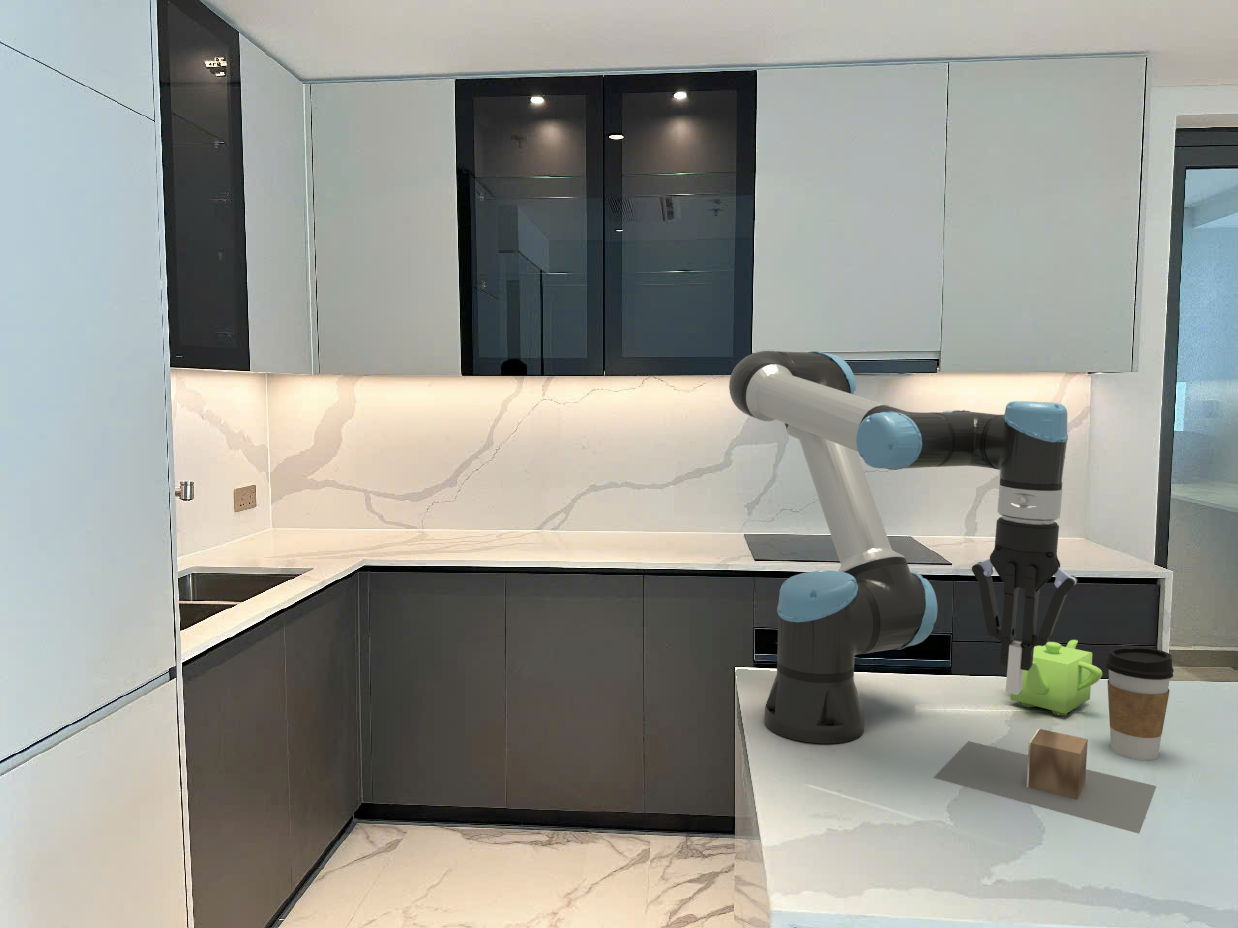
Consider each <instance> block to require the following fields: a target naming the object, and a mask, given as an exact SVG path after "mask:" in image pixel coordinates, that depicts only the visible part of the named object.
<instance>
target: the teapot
mask: <svg viewBox="0 0 1238 928" xmlns="http://www.w3.org/2000/svg"><path fill="white" fill-rule="evenodd" d="M1078 642H1079V641H1078V639H1071V640H1069V641H1068V642H1067V645H1066V646H1063V645H1062V644H1060V643H1058V642H1055V641H1048V642H1047V644H1046V645H1044V646H1035V647H1034V653H1033V665H1032V667H1031V668H1030V669H1029V671H1026V670H1024V672H1023V684H1022V690H1021V691H1020V692H1019V694H1018V695H1015V694H1011V693H1010V696H1009V697H1010V700H1011V701H1015V702H1019V703H1021V706H1023V707H1027V708H1034V707H1038V708H1042V709H1046V710H1049V711H1052V714H1054V715H1056V714H1059V715H1058V716H1060V715H1065V716H1067V715H1068V713H1070V712H1071V711H1073V710H1074V709H1079V708H1080V706H1081V705H1083V704H1084V703H1086V702H1088V701H1089V700H1091V686H1092V685H1094V684H1096V683H1097V682H1099V681H1100V680H1101V678H1102V677H1103V671H1102V670H1101V668H1099V667H1097V666H1096V665H1093V652H1091V651H1085V650H1081V649H1077V645H1078ZM1078 707H1079V708H1078ZM1066 714H1067V715H1066Z"/></svg>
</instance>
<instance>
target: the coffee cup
mask: <svg viewBox="0 0 1238 928" xmlns="http://www.w3.org/2000/svg"><path fill="white" fill-rule="evenodd" d="M1173 667H1174V666H1173V658H1172V654H1171V653H1169V652H1166V651H1163V650H1160V649H1156V648H1152V647H1151V648H1150V647H1117V648H1116V647H1115V648H1112V649H1109V651H1108V653H1107V659H1106V660H1105V668H1106V669H1107V670H1108V679H1107V680H1106V681H1107V682H1106V683H1107V699H1108V716H1109V717H1108V718H1109V719H1108V720H1109V734H1110V739H1109V740H1110V750H1111V751H1113V753H1115V754H1116V755H1119V756H1122V757H1125V758H1126V759H1127V758H1128V759H1132V760H1137V761H1154V760H1156V759H1158V758H1159V755H1160V754H1159V753H1160V752H1159V751H1160V747H1161V746H1160V745H1161V739H1162V734H1163V731H1164V724H1165V718H1166V713H1167V707H1168V702H1169V697H1170V689H1169V687H1170V679H1173V677H1174V672H1175V670H1174V668H1173Z"/></svg>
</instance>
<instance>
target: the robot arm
mask: <svg viewBox="0 0 1238 928" xmlns="http://www.w3.org/2000/svg"><path fill="white" fill-rule="evenodd" d="M728 386H729V387H728V389H729V395H730V398H731V400H732V403H733V404H734V406H736V408H737V409H738V410H739V411H741V412H742V414H745V415H748V416H749V417H752V418H754V419H757V420H759V421H763V422H773V421H775V420H776V421H779V422H782V423H784V426H785V429H786V431H787V434H788V435H789V436H791V437H793V438H795V439H798V441H799V443H800V446H801V448H802V449H801V450H802V451H803V455H804V458H805V460H806V463H807V467H808V470H809V472H810V473H809V474H810V476H811V479H812V481H813V486H814V487H815V492H816V495H817V497H818V500H819V502H820V503H819V504H820V506H821V508H822V513H823V515H824V518H825V521H826V524H827V528H828V530H829V534H830V537H831V539H832V542H833V545H834V548H835V551H836V554H837V557H838V560H839V563H840V567H839V569H838V570H823V571H819V570H814V571H808V572H802V573H799V574H795V575H793V576H789V578H787V579H786V580H784V581H783V583H782V584H781V587H780V589H779V596H778V603H777V607H776V613H777V614H778V619H777V621H778V622H777V653H776V654H777V657H776V659H777V661H776V674H775V678H774V680H773V684H772V685H771V689H770V691H769V694H768V697H767V700H766V702H765V705H764V720H763V721H764V725H765V726H766V728H768V729H769V730H771V731H772V732H773V733H775V734H776V735H779V736H782V737H784V738H788V739H790V740H795V741H798V742H799V741H800V742H803V743H805V742H806V743H813V744H840V743H846V742H849V741H850V742H851V741H853V740H855V739H857V738H859V737H861V736H862V735H863V734H864V731H865V714H864V709H863V707H862V703H861V700H860V697H859V693H858V689H857V687H856V683H855V677H854V676H855V657H856V656H858V655H865V654H871V653H875V652H876V653H877V652H878V653H879V652H883V651H889V650H895V651H898V650H902V649H906V648H907V647H911V646H916V645H918V644H920V643H922V642H924V641H926V639H927V638H928V637H929V636H930V634H931V633H932V631H933V630H934V625H935V623H936V622H937V617H938V600H937V596H936V592H935V590H934V587H933V586H932V584H931V583H930V581H929V580H928V579H927V578H924V577H923V576H922V575H921V574H920V573H917V572H912V571H911V570H910V567H909V565H908V562H907V559H906V557H905V556H904V555H903V554H900V553H899V552H897V551H895V550H893V549H892V546H891V543H890V540H889V536H888V534H887V532H886V529H885V526H884V523H883V522H882V521H883V520H882V518H881V516H880V512H879V510H878V506H877V504H876V502H875V498H874V496H873V494H872V490H871V487H870V485H869V481H868V479H867V476H866V474H865V471H864V470H865V469H864V468H863V466H862V462H861V460H860V457H861V458H862V460H863V461H864V463H865V464H866V465H867V466H869V467H871V468H874V469H885V470H890V471H891V470H892V471H896V470H903V469H917V468H918V469H919V468H920V469H922V468H934V467H935V468H942V467H945V468H946V467H978V468H979V467H980V468H985V469H986V468H987V469H993V470H1000V471H999V472H1000V473H999V488H998V499H997V500H998V502H997V513H998V514H999V515H1000V517H998V518H997V520H996V522H995V523H996V526H995V527H996V528H995V539H994V548H993V550H992V552H991V554H990V555H989V558H988V559H986V560H984V561H980V562H976V563H975V564H974V565H972V566H971V572H972V574H973V575H974V576H975V578H976V580H977V582H978V586H979V592H980V599H981V605H982V609H983V610H982V611H983V616H984V621H985V627H986V633H987V635H988V636H990V637H994V638H996V639H997V640H999V642H1000V656H999V657H1000V658H999V663H1000V666H1003V667H1006V668H1007V670H1006V685H1005V693H1007V694H1010V695H1011V694H1015V695H1018V694H1019V692H1020V691H1021V690H1022V684H1023V672H1024V670H1026V671H1029V669H1030V668H1031V667H1032V665H1033V653H1034V647H1035V646H1044V645H1046V644H1047V642H1050V640H1051V638H1052V635H1053V632H1054V630H1055V627H1056V626H1057V622H1058V620H1059V617H1060V614H1061V611H1062V609H1063V605H1064V604H1065V601H1066V598H1067V596H1068V593H1069V592H1070V591H1071V589H1073V587H1074V586H1076V585H1077V583H1078V577H1076V576H1075V575H1070V574H1069V573H1068V572H1066V571H1065V570H1064V569H1062V568H1061V562H1060V560H1059V559H1058V546H1059V545H1058V544H1059V543H1058V542H1059V531H1060V525H1059V524H1058V522H1056V521H1057V520H1059V519H1060V518H1061V509H1062V508H1061V507H1062V500H1063V499H1062V498H1063V476H1064V475H1063V473H1064V472H1063V471H1064V467H1065V458H1066V452H1067V442H1068V440H1069V435H1068V409H1067V407H1066V406H1065V405H1063V404H1062V403H1059V402H1050V401H1048V402H1047V401H1043V402H1042V401H1031V400H1030V401H1027V400H1026V401H1023V400H1022V401H1021V400H1014V401H1009V402H1008V403H1007V404H1006V406H1005V409H1004V413H1003V414H995V413H994V414H993V413H987V412H986V413H985V412H976V411H971V410H966V409H965V410H964V409H963V410H958V409H957V410H945V411H941V412H933V411H932V412H919V411H918V412H916V411H915V412H914V411H907V410H903V409H900V408H896V407H894V406H890V405H888V404H885V403H882V402H879V401H875V400H872V399H869V398H866V397H862V396H860V395H856V394H855V391H857V383H856V377H855V375H854V373H853V371H852V369H851V367H850V366H849V364H848V363H847V361H845V360H844V359H843V358H841V357H840V356H838V355H835V354H833V353H825V352H822V351H818V350H817V351H815V350H814V351H809V352H806V351H805V352H803V351H799V352H798V351H782V350H781V351H776V350H762V351H756V352H754V353H751V354H749V355H747V356H745V357H744V358H742V359H741V360H740V361H739V362H738V363H737V364H736V365H735V367H734V368H733V370H732V372H731V374H730V379H729V385H728ZM993 568H994V569H993ZM994 571H995V572H996V573H997V575H998V576H999V578H1000V580H1001V582H1003V584H1004V585H1003V594H1004V595H1003V596H1004V597H1003V608H1002V609H1003V610H1002V619H1001V620H1002V621H1000V615H999V609H998V603H997V598H996V592H995V587H994V581H993V580H994V579H993V577H992V575H993V574H994ZM1053 577H1055V580H1054V583H1053V584H1054V586H1055V588H1056V590H1055V591H1054V593H1053V595H1052V598H1051V600H1050V603H1049V606H1048V608H1047V611H1046V614H1045V616H1044V620H1043V622H1042V625H1041V627H1040V630H1039V632H1038V634H1037V624H1038V623H1037V622H1038V612H1039V611H1038V610H1039V600H1040V596H1039V595H1040V594H1041V588H1043V586H1045V585H1046V583H1047V582H1048V581H1049V580H1050V579H1052V578H1053ZM1020 588H1022V589H1023V590H1024V607H1023V619H1022V632H1021V641H1018V640H1015V639H1014V638H1016V636H1017V634H1016V625H1017V624H1016V623H1017V611H1018V602H1019V601H1018V599H1019V591H1020Z"/></svg>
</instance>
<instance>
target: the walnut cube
mask: <svg viewBox="0 0 1238 928" xmlns="http://www.w3.org/2000/svg"><path fill="white" fill-rule="evenodd" d="M1088 740H1089V739H1088V738H1084V737H1079V736H1075V735H1070V734H1065V733H1061V732H1056V731H1052V730H1047V729H1042V728H1037V729H1036V731H1035V732H1034V735H1033V736H1032V737H1031V738H1030V740H1029V742H1028V754H1027V755H1028V771H1027V787H1029V788H1033V789H1037V790H1041V791H1045V792H1049V793H1053V794H1057V795H1061V796H1065V797H1069V798H1073V799H1077V800H1078V798H1079V796H1080V793H1081V791H1082V789H1083V787H1084V785H1085V779H1086V769H1087V762H1088V761H1087V758H1088V757H1087V756H1088Z"/></svg>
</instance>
